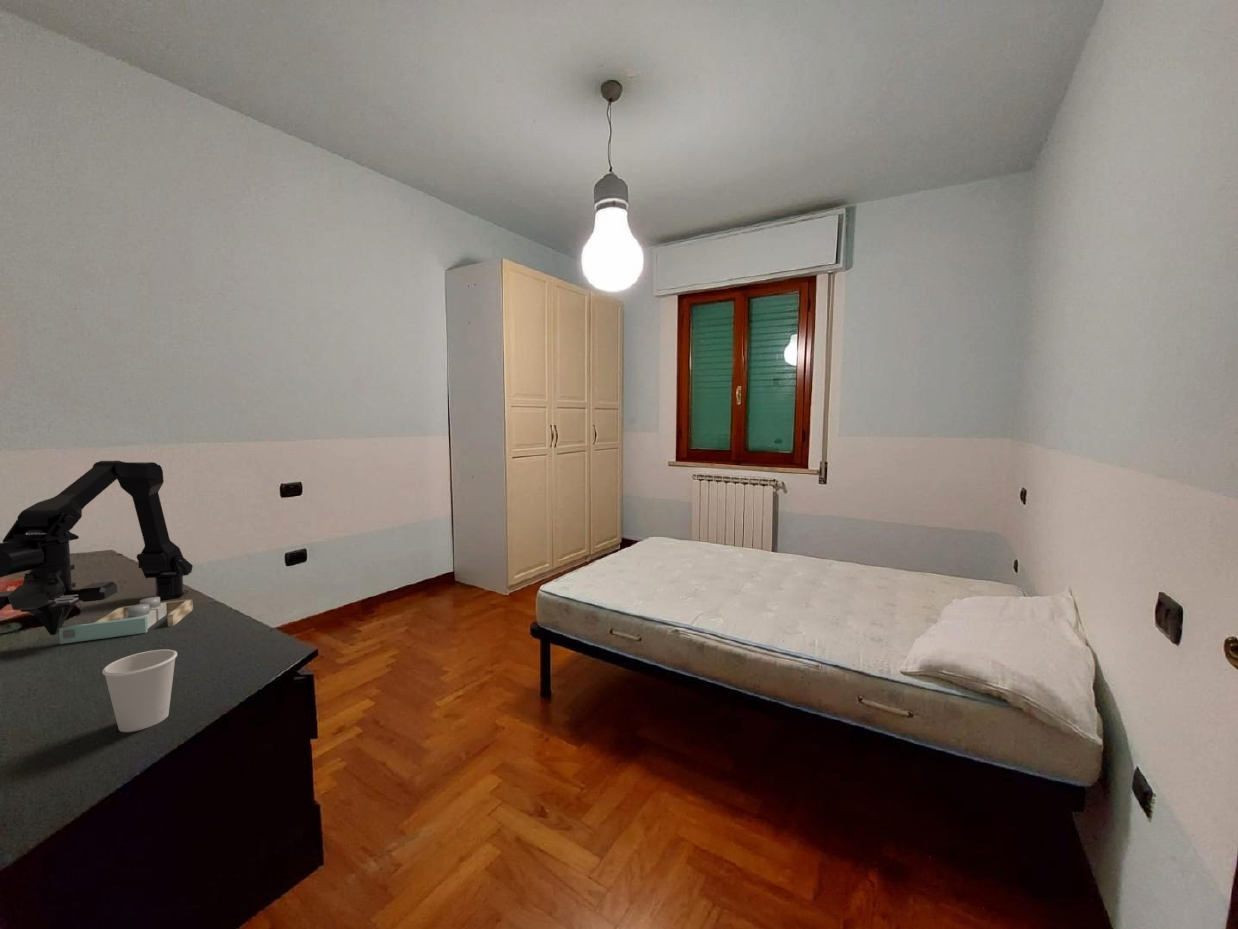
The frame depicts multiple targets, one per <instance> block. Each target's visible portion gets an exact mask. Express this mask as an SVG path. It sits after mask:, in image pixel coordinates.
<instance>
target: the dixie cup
mask: <svg viewBox="0 0 1238 929" xmlns="http://www.w3.org/2000/svg"><path fill="white" fill-rule="evenodd" d="M177 657H178V652H177V650H174V649H173V650H172V649H164V648H163V649H155V650H154V649H153V650H148V651H143V652H139V653H133V654H131V655H128V656H125V657H122V658H119V659H117V660H114V661H113V662H110V663H109V664H107V665H106V666H105V667H104V668H103V669H102V672H101V673H102V675H104V676H105V677H104V678H105V680H106V684H107V688H108V692H109V696H110V700H111V704H112V708H113V711H114V717H115V721H116V724H117V727H118V731H120V732H121V733H131V732H132V733H133V732H137V731H141V730H145V729H148V728H150V727H153V726H155V725H157V724H159V723H162V721H164V720H166V719H167V718H168V716H169V713H170V706H171V705H170V703H171V696H172V690H173V689H172V688H173V680H174V673H175V672H174V671H175V664H176V663H175V662H176V658H177Z"/></svg>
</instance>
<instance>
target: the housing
mask: <svg viewBox="0 0 1238 929" xmlns="http://www.w3.org/2000/svg"><path fill="white" fill-rule="evenodd" d="M193 602H194V601H193V598H191V599H190V598H189V599H181V600H170V601H164V602H161V601H160V603H166V607H167V614H166V616H167V618H166V619H167V628H168V627H174V626H175V625H176V624H178V623H179V622H180V621H181V620H183V619H184V618H185V617H186V616H188V615H189V613H191V612H192V611H193V610H194V604H193ZM131 606H132V605H127V606H120V607H118V608H116V609H115V610H112V612H110V613H108V614H106V615H105V616H103V617H102V618H100V619H98V620H97V621H95V622H94V623H98V622H106V621H114V620H121V619H123V618H124V617H126V616H127V615H128V608H129V607H131ZM163 618H164V617H162V618H161V619H163ZM154 625H155V623H154V624H153V625H152V626H150V627H149V628H151V627H153V626H154Z"/></svg>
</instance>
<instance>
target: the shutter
mask: <svg viewBox="0 0 1238 929" xmlns="http://www.w3.org/2000/svg"><path fill="white" fill-rule="evenodd" d="M148 631H149V628H148V624H147V617H139V618H131V619H123V620H114V621H106V622H98V623H95V622H90V623H83V624H82V623H81V624H75V625H73V624H72V625H66V626H65V625H64V626H62V627H61V628H59V633H58V634H59V644H60V645H63V644H70V643H78V642H79V643H80V642H86V641H93V640H100V639H110V638H114V637H115V638H116V637H124V636H131V635H132V636H133V635H139V634H146V633H147V632H148Z"/></svg>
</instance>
